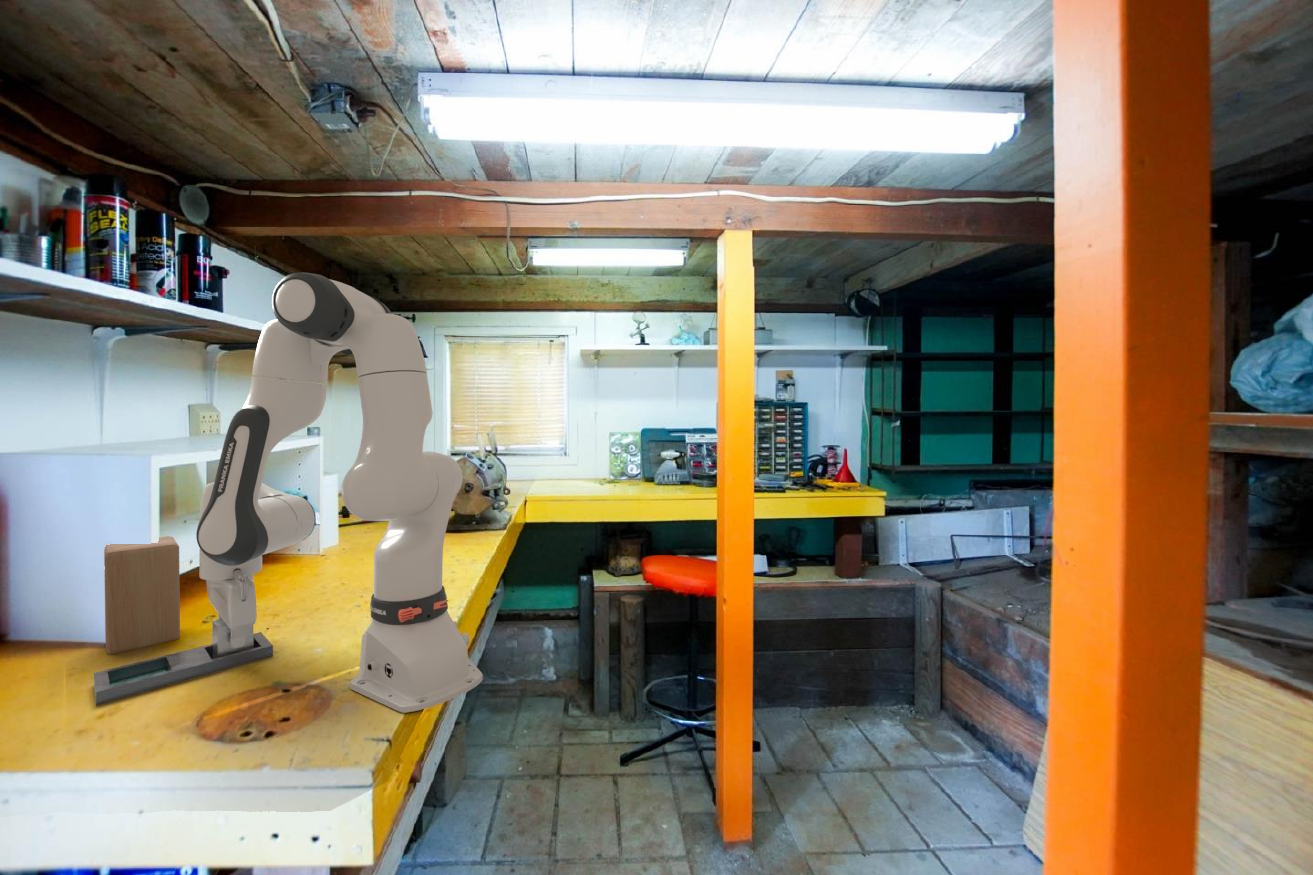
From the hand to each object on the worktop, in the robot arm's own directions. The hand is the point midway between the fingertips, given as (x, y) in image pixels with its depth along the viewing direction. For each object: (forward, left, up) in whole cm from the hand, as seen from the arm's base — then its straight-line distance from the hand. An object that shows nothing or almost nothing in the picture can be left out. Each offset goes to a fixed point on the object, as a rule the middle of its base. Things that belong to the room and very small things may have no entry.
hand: (231, 638), depth 92 cm
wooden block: (+23, +10, -4) cm, 25 cm away
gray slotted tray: (0, +6, -4) cm, 7 cm away
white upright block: (0, 0, -4) cm, 4 cm away
